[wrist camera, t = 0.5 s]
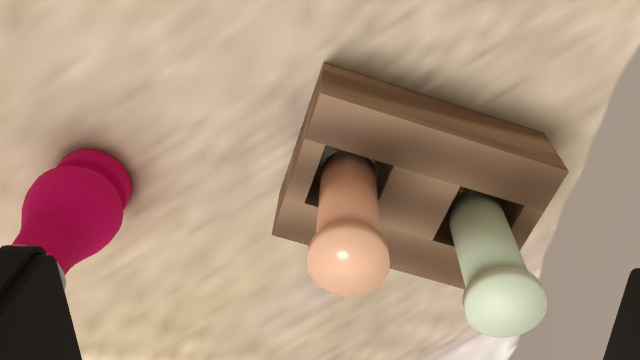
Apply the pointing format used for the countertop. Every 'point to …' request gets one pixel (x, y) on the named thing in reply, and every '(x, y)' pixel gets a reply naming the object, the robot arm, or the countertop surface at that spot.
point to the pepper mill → (75, 207)
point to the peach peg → (348, 228)
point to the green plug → (493, 269)
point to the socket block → (416, 167)
